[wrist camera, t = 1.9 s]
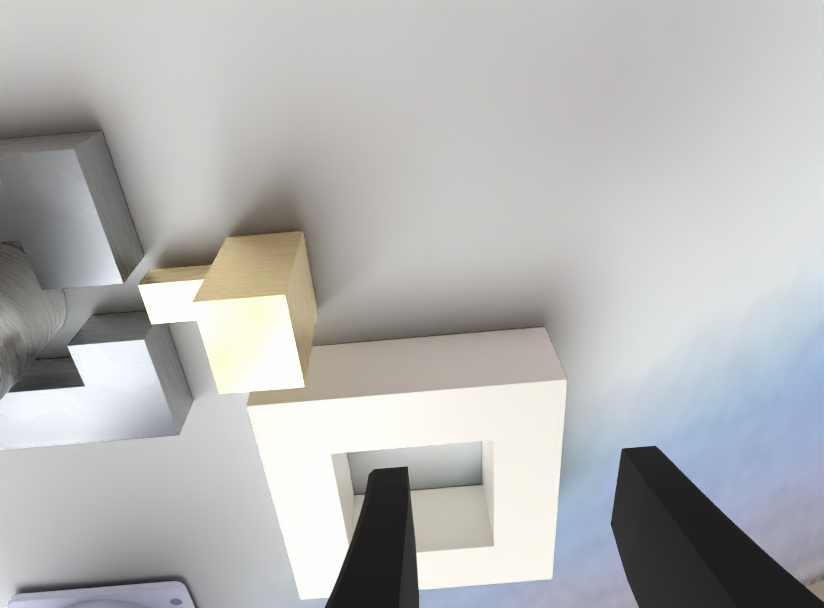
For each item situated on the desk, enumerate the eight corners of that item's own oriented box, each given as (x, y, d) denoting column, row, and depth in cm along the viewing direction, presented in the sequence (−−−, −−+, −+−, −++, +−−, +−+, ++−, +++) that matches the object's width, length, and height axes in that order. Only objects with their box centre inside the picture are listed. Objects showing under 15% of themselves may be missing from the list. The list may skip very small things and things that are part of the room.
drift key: (317, 312, 20) (304, 387, 17) (170, 324, 20) (127, 401, 17) (302, 230, 19) (284, 294, 15) (143, 244, 19) (89, 311, 15)
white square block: (535, 516, 26) (552, 578, 24) (308, 535, 26) (300, 599, 24) (544, 326, 21) (567, 379, 19) (262, 350, 21) (246, 406, 19)
